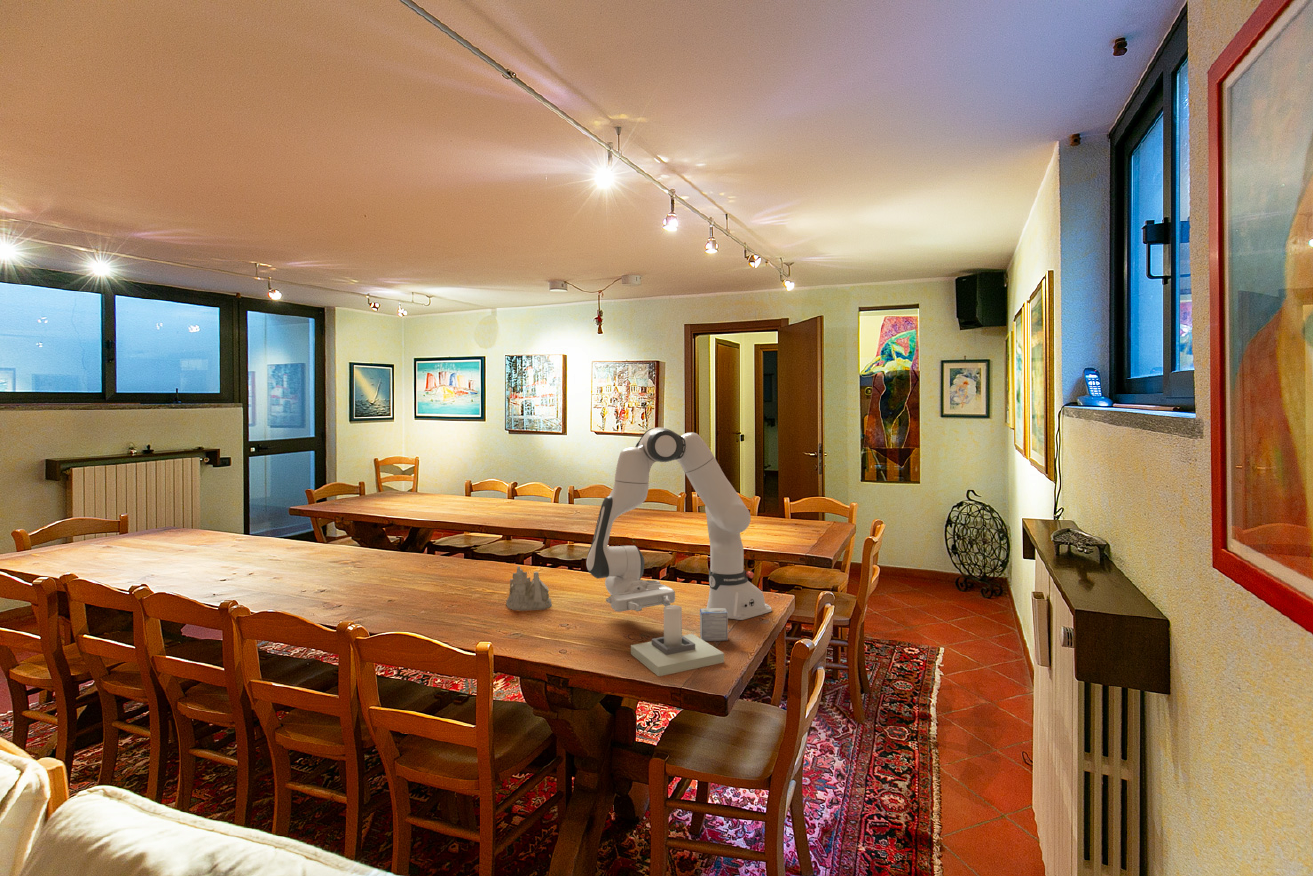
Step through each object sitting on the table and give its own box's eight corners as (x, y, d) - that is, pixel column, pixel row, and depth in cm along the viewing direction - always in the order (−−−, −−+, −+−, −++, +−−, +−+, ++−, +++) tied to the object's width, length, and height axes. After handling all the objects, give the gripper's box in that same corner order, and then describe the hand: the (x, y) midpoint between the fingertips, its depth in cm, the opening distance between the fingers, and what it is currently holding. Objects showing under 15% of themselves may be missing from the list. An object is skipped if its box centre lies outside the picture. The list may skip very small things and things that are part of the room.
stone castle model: (549, 610, 220) (547, 565, 220) (501, 612, 220) (499, 568, 220) (556, 599, 236) (554, 558, 236) (511, 601, 236) (509, 560, 236)
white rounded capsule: (676, 642, 183) (676, 604, 182) (685, 648, 179) (684, 609, 178) (660, 645, 181) (660, 606, 180) (669, 651, 176) (668, 611, 176)
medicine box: (725, 635, 195) (725, 607, 195) (728, 641, 191) (728, 612, 190) (699, 636, 195) (699, 608, 195) (701, 641, 191) (701, 612, 190)
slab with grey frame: (692, 642, 190) (692, 628, 190) (724, 662, 175) (724, 647, 175) (630, 654, 181) (630, 640, 181) (658, 676, 166) (658, 661, 166)
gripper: (603, 588, 198) (621, 600, 186) (662, 579, 207) (683, 590, 195) (603, 609, 198) (622, 622, 186) (662, 599, 208) (683, 611, 195)
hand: (654, 605), depth 191 cm, fingers open, 8 cm apart
